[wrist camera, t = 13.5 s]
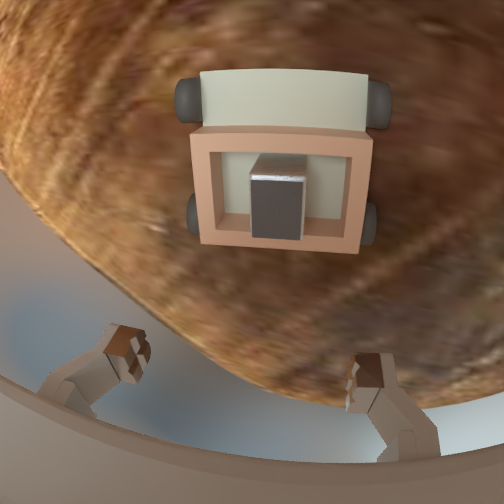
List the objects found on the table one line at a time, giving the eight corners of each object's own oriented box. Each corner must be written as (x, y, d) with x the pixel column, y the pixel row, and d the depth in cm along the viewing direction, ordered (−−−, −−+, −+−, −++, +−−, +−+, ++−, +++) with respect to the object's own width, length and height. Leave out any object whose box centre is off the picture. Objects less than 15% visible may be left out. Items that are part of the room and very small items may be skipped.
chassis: (189, 73, 25) (167, 75, 21) (381, 76, 23) (396, 78, 19) (202, 226, 34) (186, 252, 30) (365, 236, 31) (372, 264, 27)
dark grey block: (260, 152, 27) (247, 176, 22) (306, 154, 26) (306, 179, 21) (261, 204, 30) (249, 239, 24) (304, 207, 29) (302, 242, 24)
